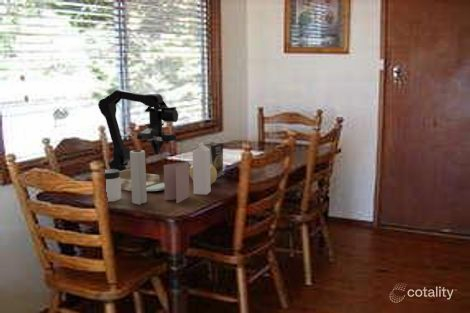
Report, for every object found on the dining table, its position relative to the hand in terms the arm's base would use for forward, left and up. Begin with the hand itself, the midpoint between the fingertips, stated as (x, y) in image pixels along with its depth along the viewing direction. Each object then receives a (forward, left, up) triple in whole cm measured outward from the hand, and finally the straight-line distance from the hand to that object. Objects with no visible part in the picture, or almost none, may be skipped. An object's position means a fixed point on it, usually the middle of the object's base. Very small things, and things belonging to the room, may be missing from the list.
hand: (157, 154), depth 275 cm
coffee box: (+17, +22, -13) cm, 31 cm away
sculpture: (+22, +6, -13) cm, 26 cm away
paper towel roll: (+16, -34, -13) cm, 40 cm away
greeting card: (+29, -23, -13) cm, 39 cm away
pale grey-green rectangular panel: (+5, -12, -13) cm, 18 cm away
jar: (+2, -35, -13) cm, 37 cm away
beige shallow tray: (-3, -12, -13) cm, 18 cm away
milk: (+30, -8, -13) cm, 34 cm away
